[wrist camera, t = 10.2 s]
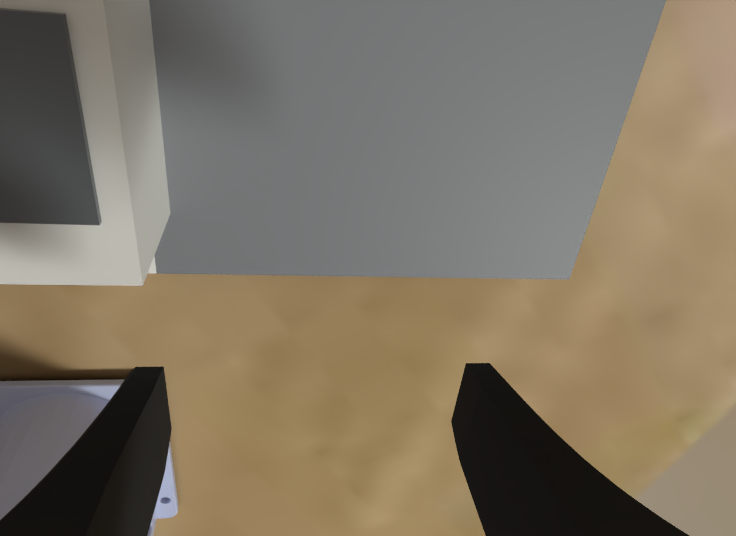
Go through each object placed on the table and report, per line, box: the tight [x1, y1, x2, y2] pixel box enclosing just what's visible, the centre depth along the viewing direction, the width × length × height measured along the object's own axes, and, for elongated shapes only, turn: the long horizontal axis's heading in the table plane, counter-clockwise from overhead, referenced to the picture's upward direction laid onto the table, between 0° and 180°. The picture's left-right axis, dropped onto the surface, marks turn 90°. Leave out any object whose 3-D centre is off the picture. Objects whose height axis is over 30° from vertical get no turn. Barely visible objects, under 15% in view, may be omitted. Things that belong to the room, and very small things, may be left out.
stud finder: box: [0, 0, 170, 286], centre depth 15 cm, size 9×4×5 cm, turn 174°
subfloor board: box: [148, 0, 666, 279], centre depth 18 cm, size 14×26×1 cm, turn 84°
